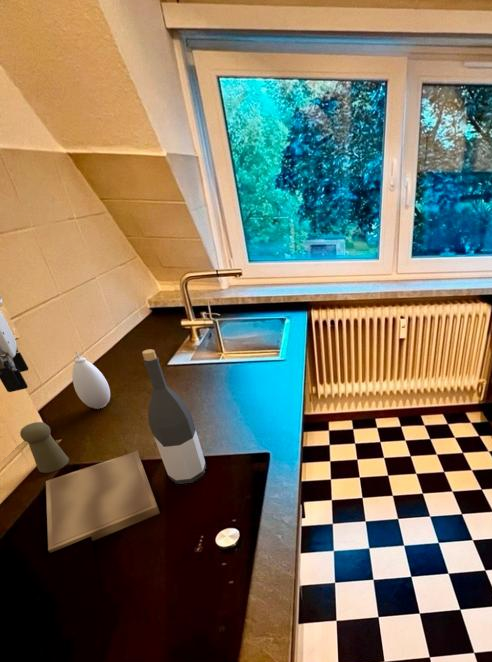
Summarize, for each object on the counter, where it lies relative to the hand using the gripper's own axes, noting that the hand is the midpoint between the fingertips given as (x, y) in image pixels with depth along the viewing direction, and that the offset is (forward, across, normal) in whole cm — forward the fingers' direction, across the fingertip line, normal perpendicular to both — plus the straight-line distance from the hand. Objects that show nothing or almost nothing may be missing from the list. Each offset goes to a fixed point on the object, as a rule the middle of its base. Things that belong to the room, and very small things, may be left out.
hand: (19, 380), depth 79 cm
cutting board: (+22, +19, +6) cm, 30 cm away
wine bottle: (+22, +21, +23) cm, 38 cm away
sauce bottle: (+22, -24, +10) cm, 34 cm away
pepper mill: (+22, -1, -2) cm, 22 cm away
